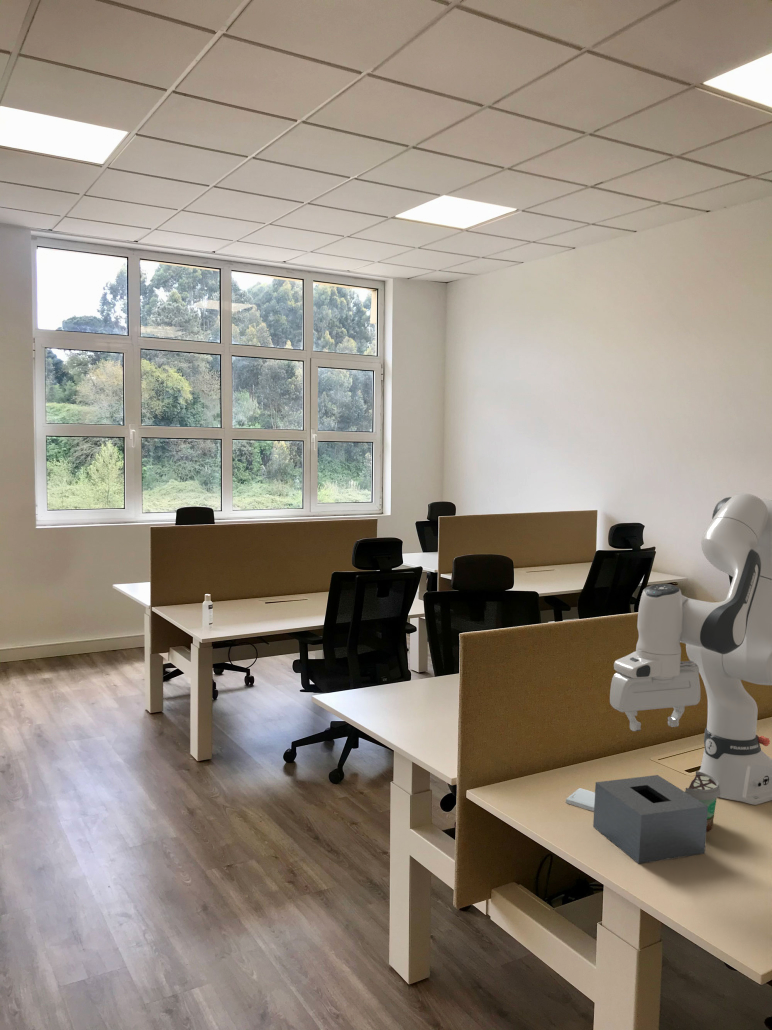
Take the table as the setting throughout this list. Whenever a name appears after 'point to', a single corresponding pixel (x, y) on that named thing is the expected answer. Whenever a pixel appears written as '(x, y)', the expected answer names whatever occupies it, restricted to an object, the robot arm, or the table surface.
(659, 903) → the table surface
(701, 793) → the food container
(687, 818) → the coin box
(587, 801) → the hard drive
